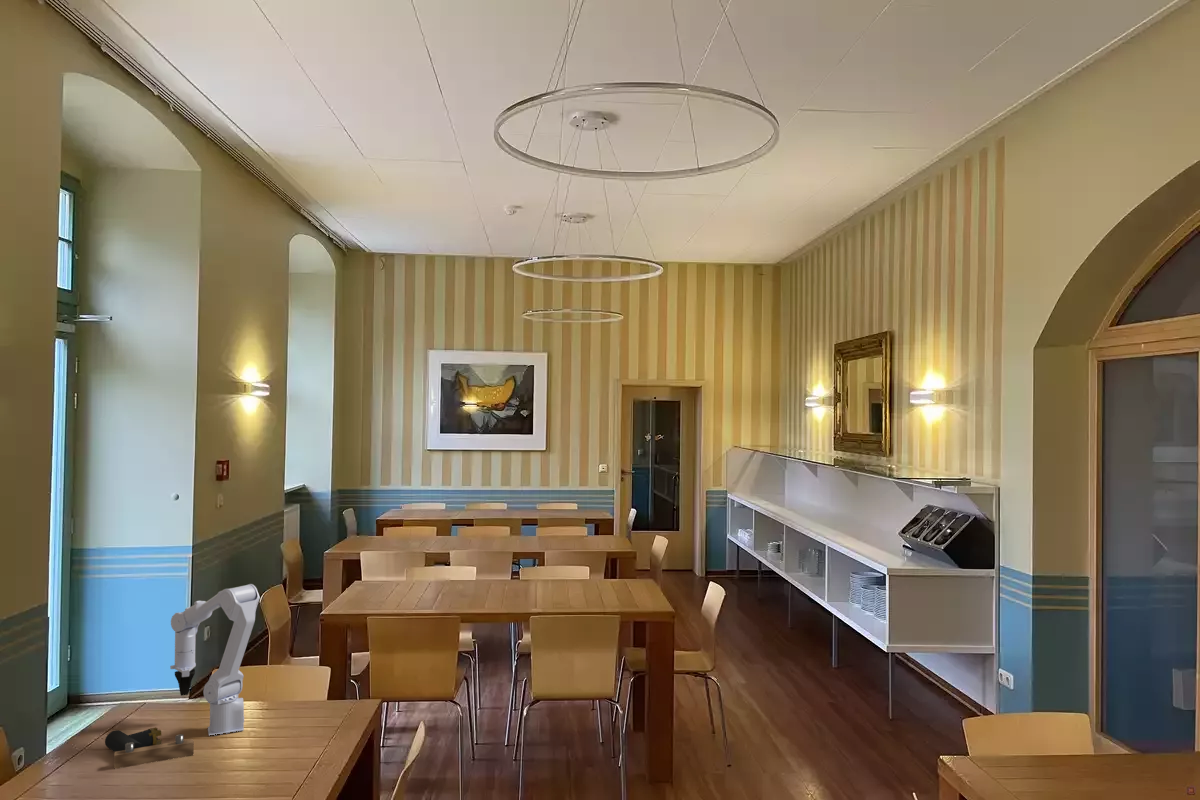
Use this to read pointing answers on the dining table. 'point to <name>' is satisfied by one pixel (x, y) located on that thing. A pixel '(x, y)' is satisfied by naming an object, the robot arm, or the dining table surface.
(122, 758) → the bar
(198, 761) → the dining table surface
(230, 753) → the dining table surface
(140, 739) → the pipe connector
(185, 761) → the dining table surface
